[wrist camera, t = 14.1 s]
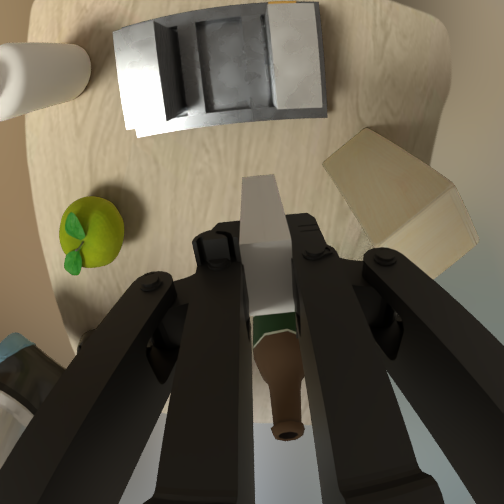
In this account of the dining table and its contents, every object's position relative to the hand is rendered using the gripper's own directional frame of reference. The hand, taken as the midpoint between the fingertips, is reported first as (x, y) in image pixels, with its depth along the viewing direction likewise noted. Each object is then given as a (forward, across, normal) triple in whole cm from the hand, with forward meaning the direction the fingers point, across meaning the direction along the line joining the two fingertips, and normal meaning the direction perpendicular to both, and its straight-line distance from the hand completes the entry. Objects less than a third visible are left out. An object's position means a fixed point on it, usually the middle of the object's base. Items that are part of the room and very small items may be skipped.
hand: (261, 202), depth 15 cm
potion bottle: (+26, -23, +13) cm, 37 cm away
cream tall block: (+25, +14, -6) cm, 29 cm away
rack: (+25, -2, +8) cm, 27 cm away
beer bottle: (+26, +1, -27) cm, 37 cm away
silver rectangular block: (+24, +5, +8) cm, 26 cm away
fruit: (+26, -23, -9) cm, 36 cm away
